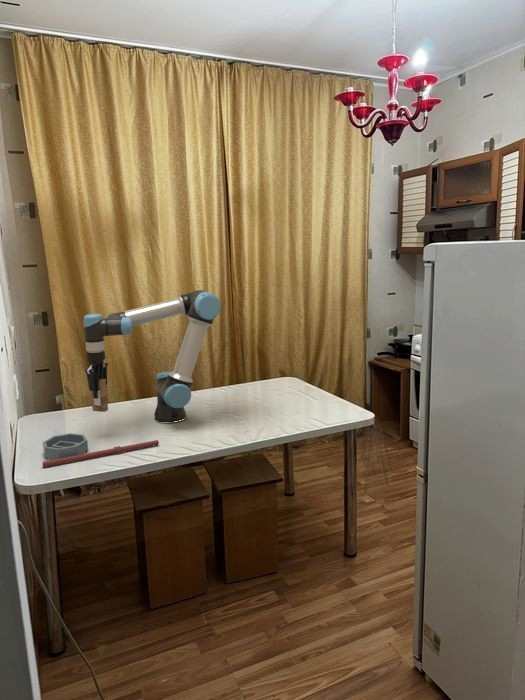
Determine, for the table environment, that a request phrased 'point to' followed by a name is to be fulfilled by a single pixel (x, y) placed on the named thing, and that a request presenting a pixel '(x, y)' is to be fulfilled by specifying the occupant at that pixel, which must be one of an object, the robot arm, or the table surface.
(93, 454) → the rolling pin
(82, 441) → the octagonal blue tray
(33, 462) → the table surface
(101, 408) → the flat wood plank
